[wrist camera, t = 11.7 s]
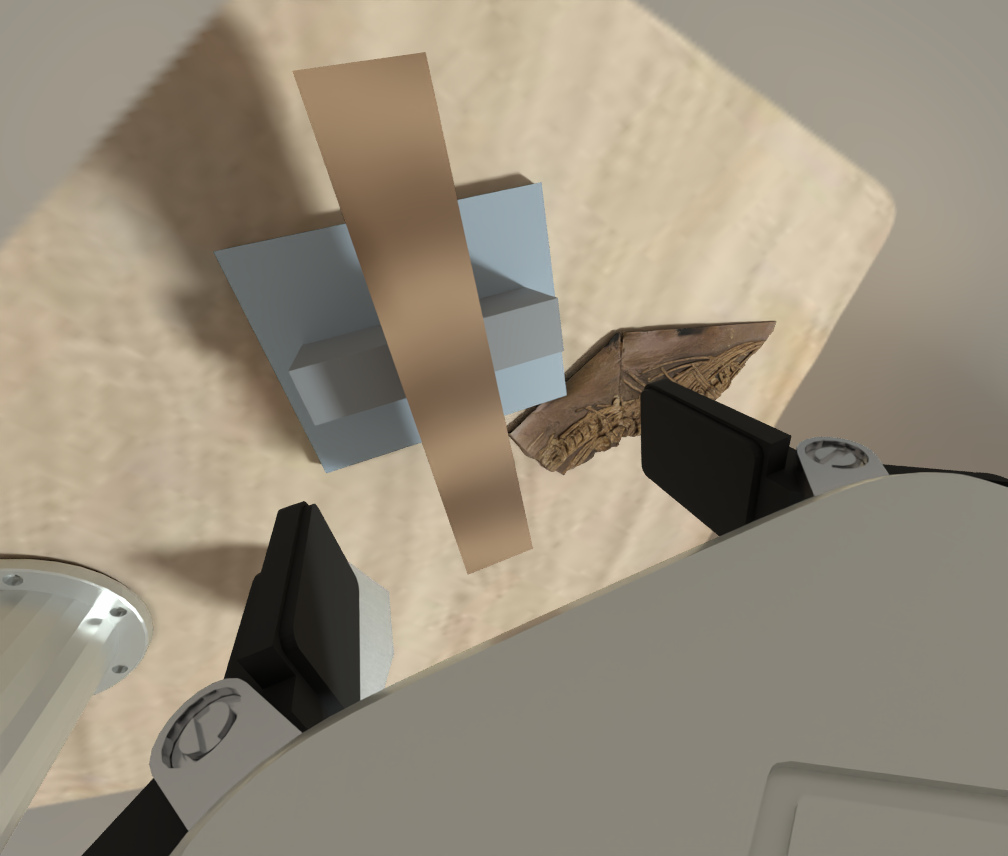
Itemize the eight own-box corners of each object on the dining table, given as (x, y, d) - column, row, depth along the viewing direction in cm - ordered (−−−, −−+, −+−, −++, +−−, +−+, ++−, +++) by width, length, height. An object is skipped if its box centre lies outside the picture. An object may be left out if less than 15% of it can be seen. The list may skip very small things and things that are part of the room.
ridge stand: (327, 465, 28) (319, 519, 22) (219, 250, 21) (172, 256, 16) (561, 390, 31) (600, 422, 26) (534, 183, 24) (582, 171, 19)
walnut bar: (308, 107, 15) (292, 70, 12) (411, 91, 16) (425, 52, 12) (453, 529, 26) (467, 574, 22) (510, 507, 26) (532, 548, 23)
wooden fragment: (520, 488, 34) (524, 495, 33) (490, 373, 29) (494, 377, 28) (762, 391, 39) (772, 395, 38) (776, 275, 33) (788, 276, 32)
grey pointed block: (332, 550, 31) (321, 672, 22) (388, 591, 34) (398, 710, 26) (294, 577, 31) (268, 711, 22) (354, 616, 34) (352, 743, 26)
